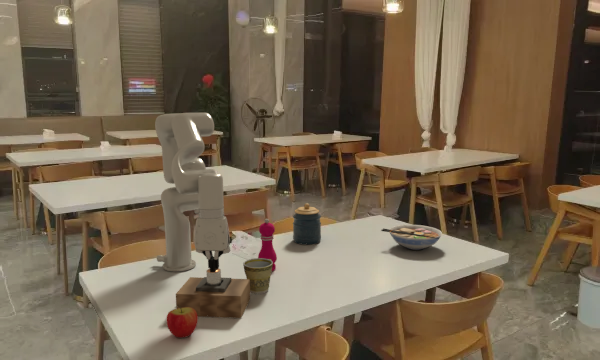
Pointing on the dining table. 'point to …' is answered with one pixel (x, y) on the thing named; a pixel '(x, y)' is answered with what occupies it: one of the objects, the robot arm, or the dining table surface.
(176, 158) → the robot arm
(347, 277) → the dining table surface
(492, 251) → the dining table surface
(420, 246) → the ramen bowl
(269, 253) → the pepper mill
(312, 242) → the canister
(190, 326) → the apple
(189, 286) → the socket block
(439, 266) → the dining table surface
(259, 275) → the ceramic cup
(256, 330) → the dining table surface
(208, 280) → the peg
